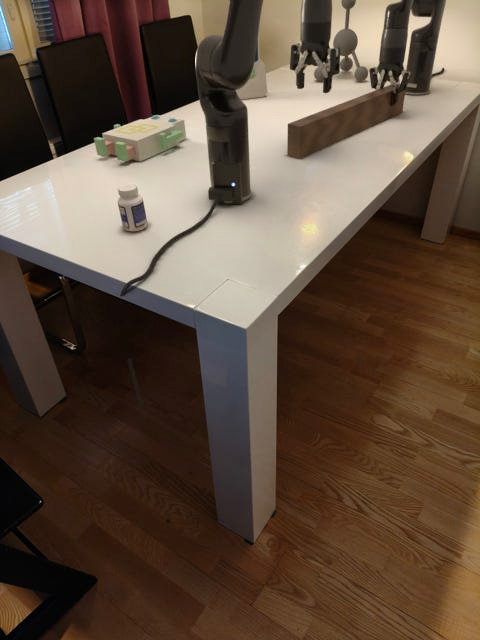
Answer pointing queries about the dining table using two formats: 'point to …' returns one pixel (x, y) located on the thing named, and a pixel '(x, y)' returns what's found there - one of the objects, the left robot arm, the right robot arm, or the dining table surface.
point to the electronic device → (255, 79)
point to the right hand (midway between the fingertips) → (385, 104)
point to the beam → (341, 121)
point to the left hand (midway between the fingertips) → (313, 90)
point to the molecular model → (346, 48)
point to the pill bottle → (131, 208)
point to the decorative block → (141, 138)
